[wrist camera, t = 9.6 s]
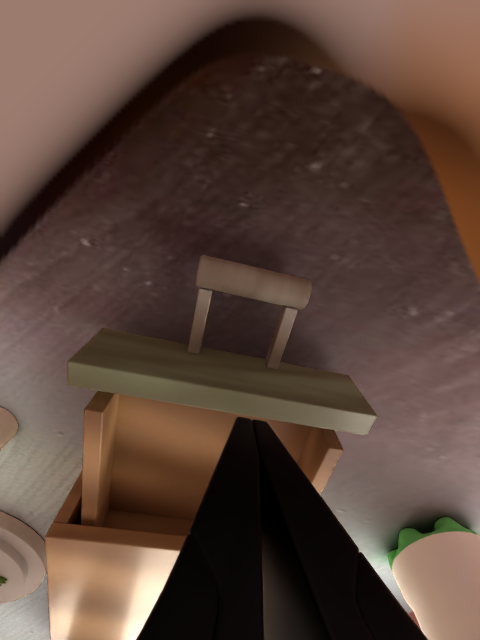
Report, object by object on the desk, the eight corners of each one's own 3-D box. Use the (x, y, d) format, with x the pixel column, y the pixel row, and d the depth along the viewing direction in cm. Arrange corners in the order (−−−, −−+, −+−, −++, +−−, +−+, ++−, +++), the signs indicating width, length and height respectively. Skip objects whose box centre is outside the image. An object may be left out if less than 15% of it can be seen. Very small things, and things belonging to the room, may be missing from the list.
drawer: (108, 229, 12) (66, 237, 9) (385, 295, 13) (430, 321, 10) (94, 497, 18) (67, 555, 15) (281, 519, 20) (290, 576, 17)
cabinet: (92, 452, 18) (44, 536, 13) (300, 481, 19) (321, 564, 15) (86, 570, 23) (50, 661, 18) (251, 585, 24) (256, 671, 20)
